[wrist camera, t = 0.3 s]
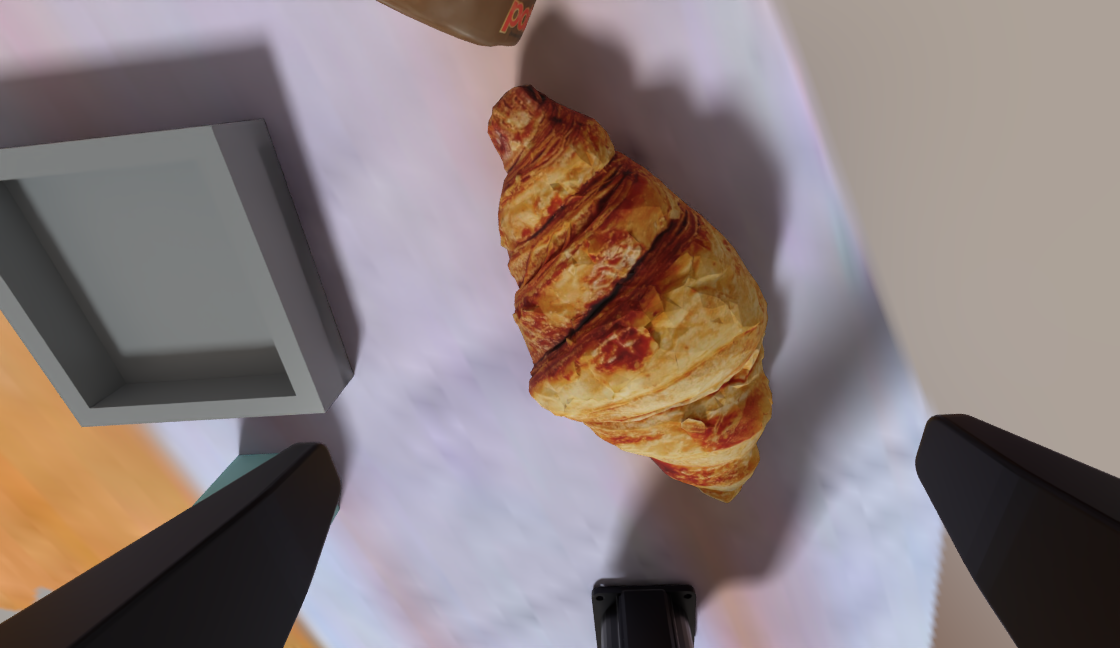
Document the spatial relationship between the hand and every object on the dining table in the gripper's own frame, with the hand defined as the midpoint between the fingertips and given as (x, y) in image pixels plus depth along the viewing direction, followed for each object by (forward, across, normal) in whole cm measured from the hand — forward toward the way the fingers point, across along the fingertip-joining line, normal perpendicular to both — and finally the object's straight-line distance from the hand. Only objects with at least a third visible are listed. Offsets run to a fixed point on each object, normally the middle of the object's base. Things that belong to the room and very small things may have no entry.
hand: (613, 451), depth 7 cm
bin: (+14, +19, +1) cm, 23 cm away
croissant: (+15, -2, +5) cm, 16 cm away
